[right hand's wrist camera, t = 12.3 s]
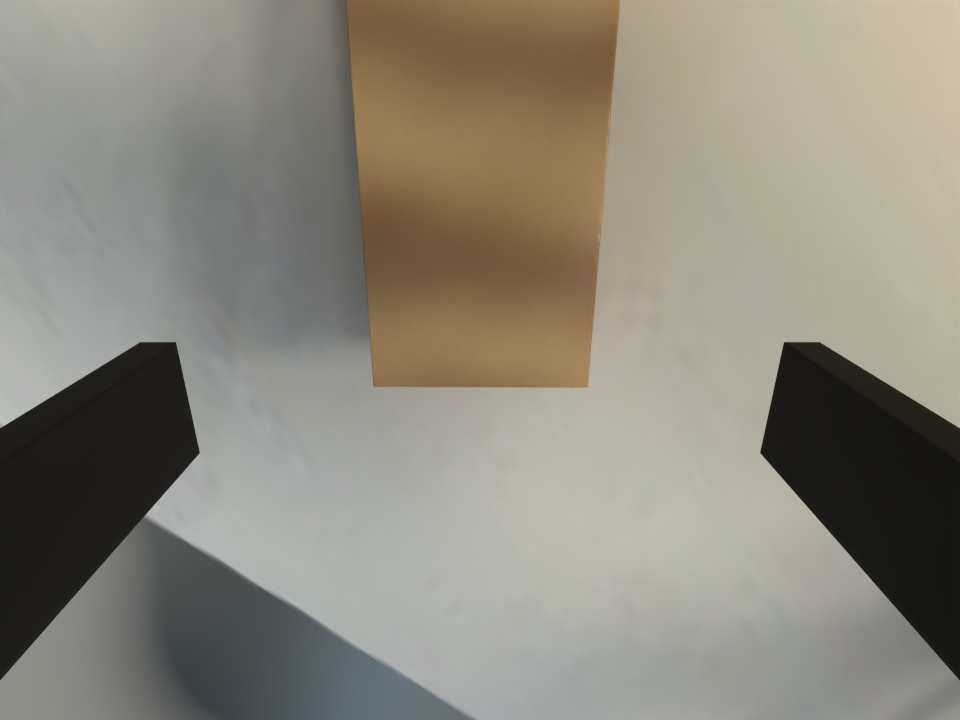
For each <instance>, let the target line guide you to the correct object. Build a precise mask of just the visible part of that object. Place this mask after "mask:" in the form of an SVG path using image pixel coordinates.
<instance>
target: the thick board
mask: <svg viewBox="0 0 960 720" xmlns="http://www.w3.org/2000/svg"><path fill="white" fill-rule="evenodd" d="M619 6H620V0H346V14H347V27H348V41H349V55H350V69H351V82H352V96H353V110H354V124H355V137H356V151H357V165H358V179H359V192H360V206H361V220H362V234H363V247H364V261H365V275H366V289H367V302H368V316H369V330H370V344H371V357H372V371H373V385H374V387H582V388H586V387H588V376H589V364H590V352H591V340H592V328H593V317H594V305H595V293H596V281H597V269H598V257H599V245H600V233H601V221H602V209H603V197H604V185H605V173H606V161H607V150H608V138H609V126H610V114H611V102H612V90H613V78H614V66H615V54H616V42H617V30H618V18H619Z"/></svg>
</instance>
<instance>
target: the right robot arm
mask: <svg viewBox="0 0 960 720" xmlns="http://www.w3.org/2000/svg"><path fill="white" fill-rule="evenodd" d="M199 453H200V452H199V447H198V443H197V438H196V434H195V429H194V424H193V420H192V415H191V410H190V406H189V401H188V396H187V392H186V387H185V382H184V378H183V373H182V369H181V364H180V359H179V355H178V350H177V345H176V342H140V343H139V344H137V345H135V346H134V347H132V348H130V349H129V350H127V351H126V352H124V353H122V354H121V355H119V356H117V357H116V358H114V359H112V360H111V361H109V362H108V363H106V364H104V365H103V366H101V367H99V368H98V369H96V370H95V371H93V372H91V373H90V374H88V375H86V376H85V377H83V378H82V379H80V380H78V381H77V382H75V383H73V384H72V385H70V386H69V387H67V388H65V389H64V390H62V391H60V392H59V393H57V394H56V395H54V396H52V397H51V398H49V399H47V400H46V401H44V402H43V403H41V404H39V405H38V406H36V407H34V408H33V409H31V410H29V411H28V412H26V413H25V414H23V415H21V416H20V417H18V418H16V419H15V420H13V421H12V422H10V423H8V424H7V425H5V426H3V427H2V428H0V680H1V679H2V678H3V676H4V675H5V674H6V673H7V672H8V671H9V670H10V668H11V667H12V666H13V665H14V664H15V663H16V662H17V660H18V659H19V658H20V657H21V656H22V655H23V654H24V653H25V651H26V650H27V649H28V648H29V647H30V646H31V645H32V643H33V642H34V641H35V640H36V639H37V638H38V637H39V635H40V634H41V633H42V632H43V631H44V630H45V629H46V627H47V626H48V625H49V624H50V623H51V622H52V621H53V620H54V618H55V617H56V616H57V615H58V614H59V613H60V611H61V610H62V609H63V608H64V607H65V606H66V605H67V604H68V602H69V601H70V600H71V599H72V598H73V597H74V596H75V594H76V593H77V592H78V591H79V590H80V589H81V588H82V586H83V585H84V584H85V583H86V582H87V581H88V580H89V579H90V577H91V576H92V575H93V574H94V573H95V572H96V570H97V569H98V568H99V567H100V566H101V565H102V564H103V563H104V561H105V560H106V559H107V558H108V557H109V556H110V555H111V553H112V552H113V551H114V550H115V549H116V548H117V547H118V545H119V544H120V543H121V542H122V541H123V540H124V539H125V537H126V536H127V535H128V534H129V533H130V532H131V531H132V530H133V528H134V527H135V526H136V525H137V524H138V523H139V522H140V520H141V519H142V518H143V517H144V516H145V515H146V514H147V512H148V511H149V510H150V509H151V508H152V507H153V506H154V504H155V503H156V502H157V501H158V500H159V499H160V498H161V496H162V495H163V494H164V493H165V492H166V491H167V490H168V489H169V487H170V486H171V485H172V484H173V483H174V482H175V481H176V479H177V478H178V477H179V476H180V475H181V474H182V473H183V471H184V470H185V469H186V468H187V467H188V466H189V465H190V463H191V462H192V461H193V460H194V459H195V458H196V457H197V455H198V454H199ZM760 453H761V454H762V455H763V457H764V458H765V459H766V460H767V461H768V462H769V463H770V465H771V466H772V467H773V468H774V469H775V470H776V471H777V473H778V474H779V475H780V476H781V477H782V478H783V479H784V481H785V482H786V483H787V484H788V485H789V486H790V487H791V489H792V490H793V491H794V492H795V493H796V494H797V495H798V496H799V498H800V499H801V500H802V501H803V502H804V503H805V504H806V506H807V507H808V508H809V509H810V510H811V511H812V512H813V514H814V515H815V516H816V517H817V518H818V519H819V520H820V522H821V523H822V524H823V525H824V526H825V527H826V528H827V530H828V531H829V532H830V533H831V534H832V535H833V536H834V537H835V539H836V540H837V541H838V542H839V543H840V544H841V545H842V547H843V548H844V549H845V550H846V551H847V552H848V553H849V555H850V556H851V557H852V558H853V559H854V560H855V561H856V563H857V564H858V565H859V566H860V567H861V568H862V569H863V571H864V572H865V573H866V574H867V575H868V576H869V577H870V579H871V580H872V581H873V582H874V583H875V584H876V585H877V586H878V588H879V589H880V590H881V591H882V592H883V593H884V594H885V596H886V597H887V598H888V599H889V600H890V601H891V602H892V604H893V605H894V606H895V607H896V608H897V609H898V610H899V612H900V613H901V614H902V615H903V616H904V617H905V618H906V620H907V621H908V622H909V623H910V624H911V625H912V626H913V627H914V629H915V630H916V631H917V632H918V633H919V634H920V635H921V637H922V638H923V639H924V640H925V641H926V642H927V643H928V645H929V646H930V647H931V648H932V649H933V650H934V651H935V653H936V654H937V655H938V656H939V657H940V658H941V659H942V661H943V662H944V663H945V664H946V665H947V666H948V667H949V668H950V670H951V671H952V672H953V673H954V674H955V675H956V676H957V678H958V679H959V680H960V428H958V427H957V426H955V425H953V424H952V423H950V422H948V421H947V420H945V419H944V418H942V417H940V416H939V415H937V414H935V413H934V412H932V411H931V410H929V409H927V408H926V407H924V406H922V405H921V404H919V403H917V402H916V401H914V400H913V399H911V398H909V397H908V396H906V395H904V394H903V393H901V392H900V391H898V390H896V389H895V388H893V387H891V386H890V385H888V384H887V383H885V382H883V381H882V380H880V379H878V378H877V377H875V376H874V375H872V374H870V373H869V372H867V371H865V370H864V369H862V368H861V367H859V366H857V365H856V364H854V363H852V362H851V361H849V360H848V359H846V358H844V357H843V356H841V355H839V354H838V353H836V352H834V351H833V350H831V349H830V348H828V347H826V346H825V345H823V344H821V343H820V342H784V345H783V350H782V355H781V359H780V364H779V369H778V373H777V378H776V382H775V387H774V392H773V396H772V401H771V406H770V410H769V415H768V420H767V424H766V429H765V434H764V438H763V443H762V447H761V452H760Z"/></svg>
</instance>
